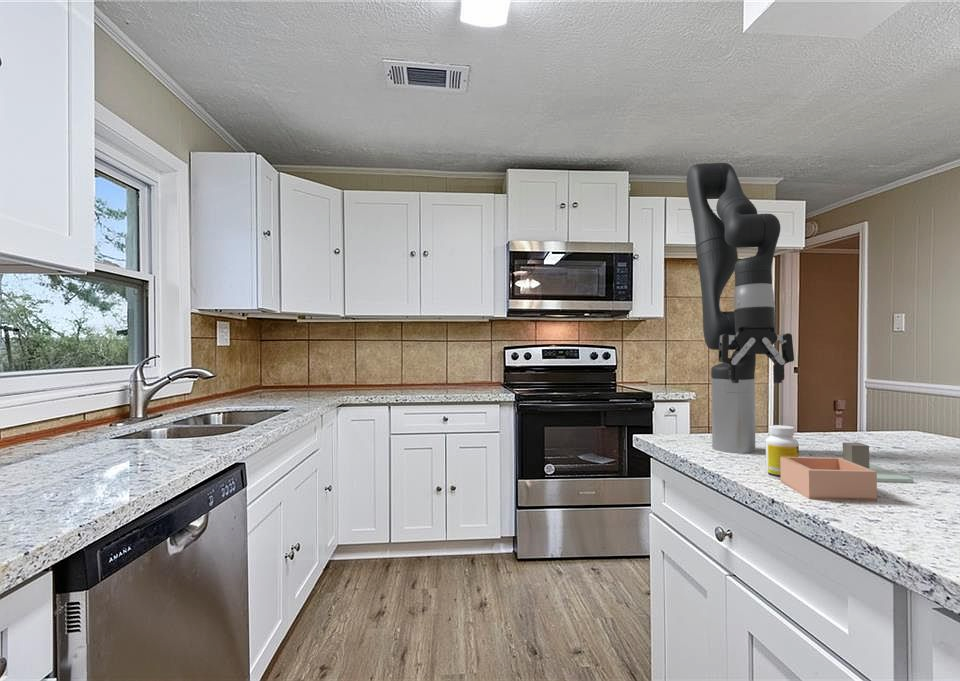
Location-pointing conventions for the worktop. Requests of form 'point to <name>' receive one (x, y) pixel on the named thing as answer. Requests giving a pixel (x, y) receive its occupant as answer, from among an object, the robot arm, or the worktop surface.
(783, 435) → the supplement bottle
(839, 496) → the dish
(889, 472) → the lid
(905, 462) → the worktop surface
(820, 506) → the worktop surface
